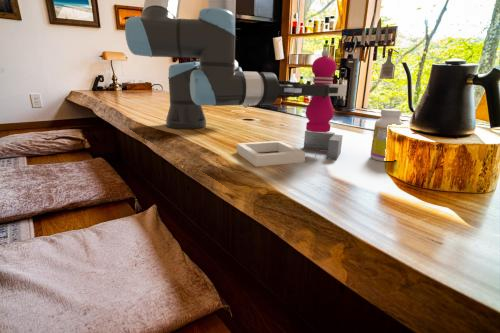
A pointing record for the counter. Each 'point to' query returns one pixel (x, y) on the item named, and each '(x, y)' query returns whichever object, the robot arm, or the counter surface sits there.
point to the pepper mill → (319, 107)
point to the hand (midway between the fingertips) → (338, 89)
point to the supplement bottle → (383, 132)
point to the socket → (283, 157)
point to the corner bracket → (324, 143)
